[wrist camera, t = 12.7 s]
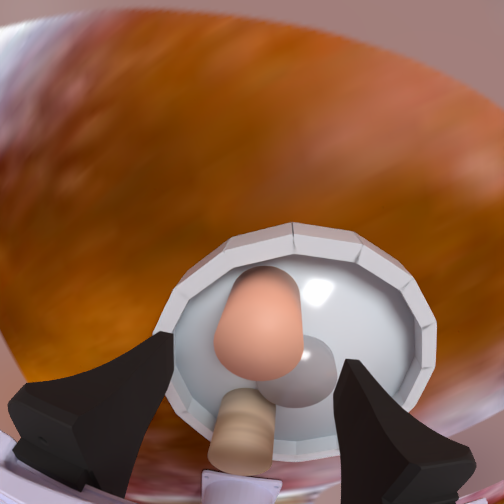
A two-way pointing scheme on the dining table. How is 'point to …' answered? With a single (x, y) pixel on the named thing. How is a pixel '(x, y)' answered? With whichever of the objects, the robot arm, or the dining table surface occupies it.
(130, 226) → the dining table surface
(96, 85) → the dining table surface
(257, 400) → the maple bead
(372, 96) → the dining table surface
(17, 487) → the robot arm
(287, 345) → the ball
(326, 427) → the groove tray
